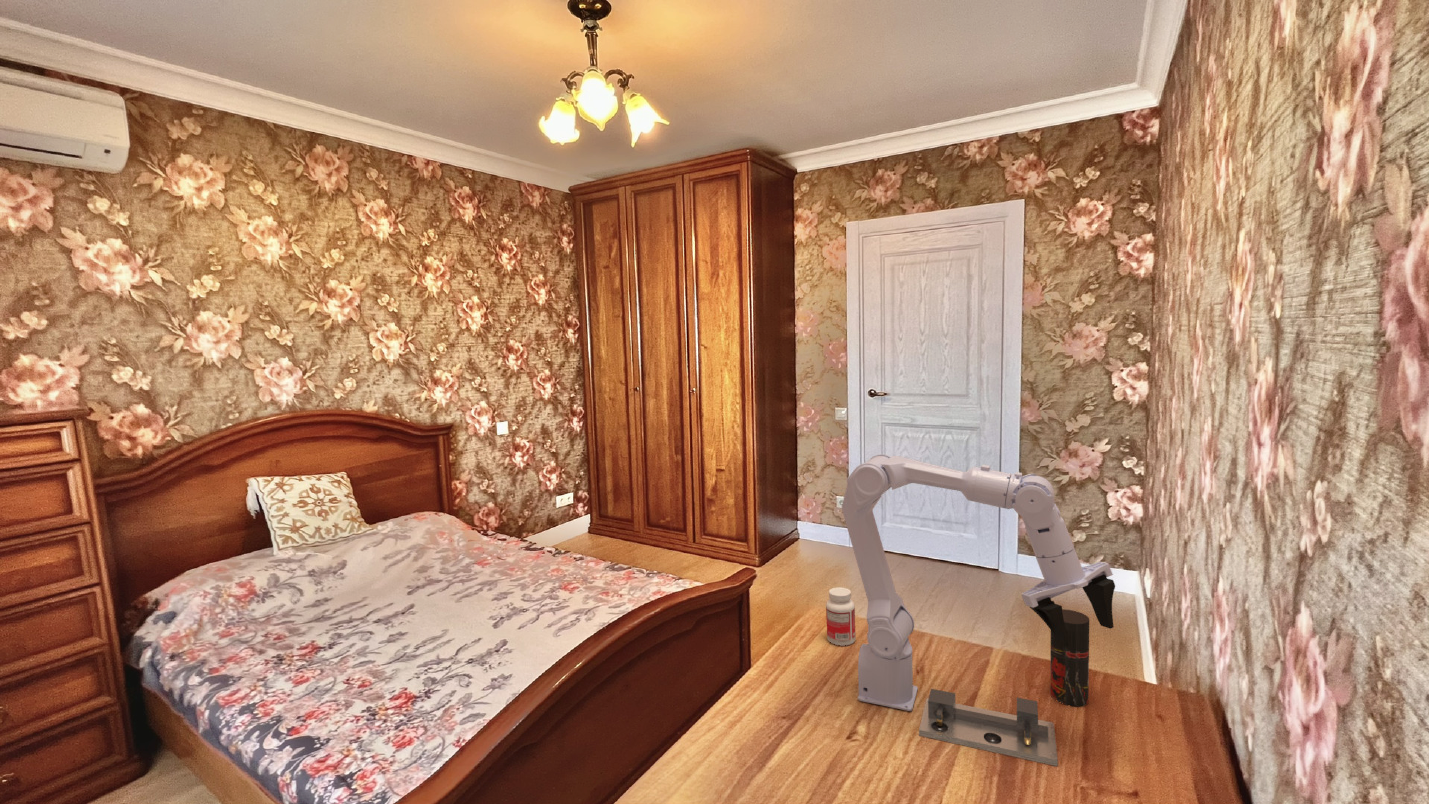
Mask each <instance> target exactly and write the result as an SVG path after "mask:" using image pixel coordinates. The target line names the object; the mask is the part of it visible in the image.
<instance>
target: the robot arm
mask: <svg viewBox="0 0 1429 804" xmlns="http://www.w3.org/2000/svg"><path fill="white" fill-rule="evenodd" d="M909 484H917V485H924V486H928V487H935V488H939V489H940V488H941V489H947V490H951V491H959V492H961V494H963V496H964V497H965V498H966V500H967V501H970V502H974V503H977V504H983V505H988V506H991V507H997V508H1001V509H1004V510H1005V509H1007V510H1010V509H1014V511H1015V512H1016V514H1018V515H1019V516H1021V519H1022V521H1023V524H1024V530H1025V532H1026V534H1027V537H1028V540H1029V542H1030V546H1031V548H1032V550H1033V553H1034V555H1035V559H1036V561H1037V564H1038V567H1039V569H1040V572H1041V574H1042V577H1043V579H1044V580H1042V581H1040V582H1039V583H1037V584H1036V585H1034V586H1033V587H1031V588H1030V589H1028V590H1026V591H1024V592H1021V597H1022V600H1023V603H1024V606H1027V607H1029V608H1030V609H1031V610H1032V611H1033V612H1034V613H1036V615H1037V616H1038V617H1039V618H1041V620H1042V621H1043V623H1045V624H1046V625H1047V627H1048V629H1050V632H1051V631H1052V632H1053V634H1054V635H1055V637H1056V638H1057V640H1058V642H1059V644H1062V645H1064V646H1067V647H1069V646H1071V640H1070V637H1069V634H1068V632H1067V629H1066V626H1065V623H1064V619H1063V613H1062V609H1063V606H1062V605H1060V604H1057V603H1056V602H1055V601H1054V600H1052V599H1053V598H1055V597H1057V596H1060V595H1064V594H1065V593H1068V592H1070V591H1072V590H1075V589H1077V590H1078V589H1081V588H1082V589H1083V591H1084V593H1085V595H1086V597H1087V598H1088V600H1089V602H1090V605H1091V606H1092V609H1093V611H1094V614H1095V616H1096V620H1097V621H1098V623H1099V624H1100V627H1104V628H1107V629H1110V630H1111V629H1113V628H1114V620H1113V619H1114V617H1113V597H1114V594H1115V593H1114V592H1115V589H1116V584H1115V581H1114V580H1113V579H1112V578H1111V579H1110V578H1109V577H1111V576H1113V575H1114V573H1113V572H1112V569H1111V566H1110V564H1109V563H1107V562H1105V561H1104V562H1103V561H1098V562H1095V563H1092V564H1088V565H1085V566H1082V564H1081V562H1080V559H1079V556H1078V554H1077V552H1076V549H1075V545H1074V543H1073V541H1072V538H1071V536H1070V533H1069V530H1068V528H1067V526H1066V522H1065V520H1064V518H1063V517H1062V516H1061V511H1060V509H1059V507H1058V506H1057V503H1056V502H1055V490H1054V487H1053V485H1052V483H1051V482H1050V481H1049V480H1048V479H1046V478H1045V477H1043V476H1040V475H1037V474H1035V473H1028V474H1025V475H1023V473H1022V472H1018V471H1015V473H1009V472H1003V471H998V470H993V469H991V465H987V464H982V465H981V466H980V467H979V466H978V467H977V466H973V467H970V469H969V468H968V470H966V471H960V470H957V469H953V468H949V467H944V466H941V465H936V464H932V463H928V462H924V461H919V460H916V459H911V458H907V457H903V456H901V455H892V456H890V455H888V454H877V455H874V456H872V457H871V458H870V459H869V460H867V461H865V462H863V463H861V464H859V465H858V466H856V467H855V468H854V470H853V471H852V472H851V474H849V476H848V477H847V479H846V490H845V493H844V497H843V501H842V503H841V511H842V514H843V518H844V521H845V525H846V529H847V531H848V532H847V533H848V536H849V539H850V543H851V546H852V550H853V553H854V556H855V560H856V564H857V567H858V570H859V574H860V578H861V581H862V585H863V588H864V592H865V595H866V598H867V611H866V622H867V625H868V629H867V630H868V631H867V633H866V639H867V643H862V644H861V646H860V649H859V652H858V661H857V673H858V676H857V679H858V682H857V683H858V695H857V700H858V702H859V701H860V702H864V703H869V704H873V705H877V706H883V707H887V708H891V709H897V710H898V709H899V710H902V711H908V712H911V711H913V708H914V705H915V701H916V698H917V697H916V696H917V693H918V690H919V687H918V686H917V685H914V684H913V682H914V681H913V678H914V677H913V676H914V675H913V674H914V673H913V672H914V671H913V647H912V644H911V643H910V642H911V641H910V639H909V637H910V635H911V634H913V632H914V630H915V619H914V617H913V615H912V614H911V612H910V611H909V610H908V608H907V607H906V606H905V604H904V600H903V597H901V596H900V595H899V594H898V593H897V591H896V588H895V584H894V581H893V577H892V575H891V571H890V568H889V564H888V559H887V556H886V553H885V550H884V546H883V543H882V539H881V536H880V532H879V530H878V526H877V522H876V521H877V520H876V518H875V514H874V510H873V509H874V508H875V507H876V505H877V504H878V502H879V500H880V499H881V497H882V495H883V494H884V493H886V492H887V491H889V490H890V489H892V490H896V489H899V488H902V487H904V486H907V485H909Z"/></svg>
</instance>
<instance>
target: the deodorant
mask: <svg viewBox="0 0 1429 804" xmlns="http://www.w3.org/2000/svg"><path fill="white" fill-rule="evenodd" d="M1062 613H1063V619H1064V623H1065V626H1066V629H1067V632H1068V634H1069V637H1070V640H1071V646H1069V647H1067V646H1064V645H1062V644H1059V642H1058V640H1057V638H1056V637H1055V635H1054V634H1053V632H1052V631H1051V630H1050V662H1049V663H1050V664H1049V666H1050V671H1049V672H1050V673H1049V674H1050V677H1049V678H1050V680H1049V682H1050V683H1049V684H1050V686H1049V689H1050V691H1049V692H1050V693H1049V694H1050V696H1051V697H1053V698H1054V699H1055V700H1054V699H1053V698H1052V699H1053V700H1054V701H1056V700H1057V701H1058V703H1059V702H1061V703H1060V704H1062V703H1063V704H1062V705H1065V706H1068V705H1070V706H1069V707H1073V706H1074V707H1075V708H1076V707H1077V708H1081V707H1085V706H1087V705H1088V704H1089V695H1090V694H1089V692H1090V690H1089V689H1090V688H1089V687H1090V686H1089V685H1090V679H1089V678H1090V618H1089V616H1087V615H1086V614H1084V613H1083V612H1079V611H1078V610H1077V611H1075V610H1072V609H1065V608H1064V609H1063V608H1062ZM1057 701H1056V702H1057Z"/></svg>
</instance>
